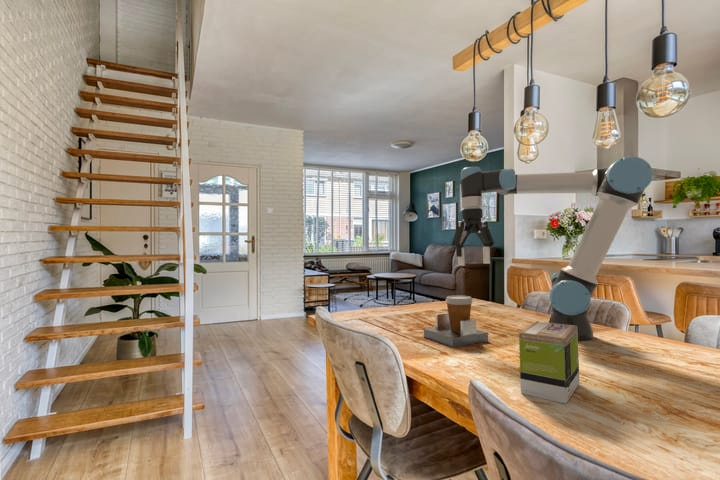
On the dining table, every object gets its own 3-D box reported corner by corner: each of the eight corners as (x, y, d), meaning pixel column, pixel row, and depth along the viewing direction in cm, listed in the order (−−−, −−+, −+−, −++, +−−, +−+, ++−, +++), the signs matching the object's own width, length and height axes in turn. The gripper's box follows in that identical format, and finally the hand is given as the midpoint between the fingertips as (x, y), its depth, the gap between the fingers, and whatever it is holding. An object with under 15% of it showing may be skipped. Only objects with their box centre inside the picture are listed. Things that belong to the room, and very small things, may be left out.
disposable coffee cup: (470, 327, 145) (469, 295, 145) (475, 333, 135) (475, 298, 135) (444, 327, 145) (443, 295, 145) (448, 333, 136) (447, 299, 136)
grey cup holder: (488, 341, 136) (487, 318, 136) (453, 347, 129) (452, 323, 129) (456, 331, 151) (456, 311, 151) (423, 336, 143) (423, 315, 143)
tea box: (537, 376, 102) (536, 319, 102) (580, 384, 95) (579, 324, 95) (518, 394, 90) (518, 330, 90) (566, 405, 84) (566, 337, 84)
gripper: (486, 210, 156) (489, 262, 156) (440, 209, 144) (442, 266, 143) (502, 208, 150) (504, 262, 149) (455, 207, 137) (457, 266, 137)
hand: (474, 264), depth 146 cm, fingers open, 13 cm apart
